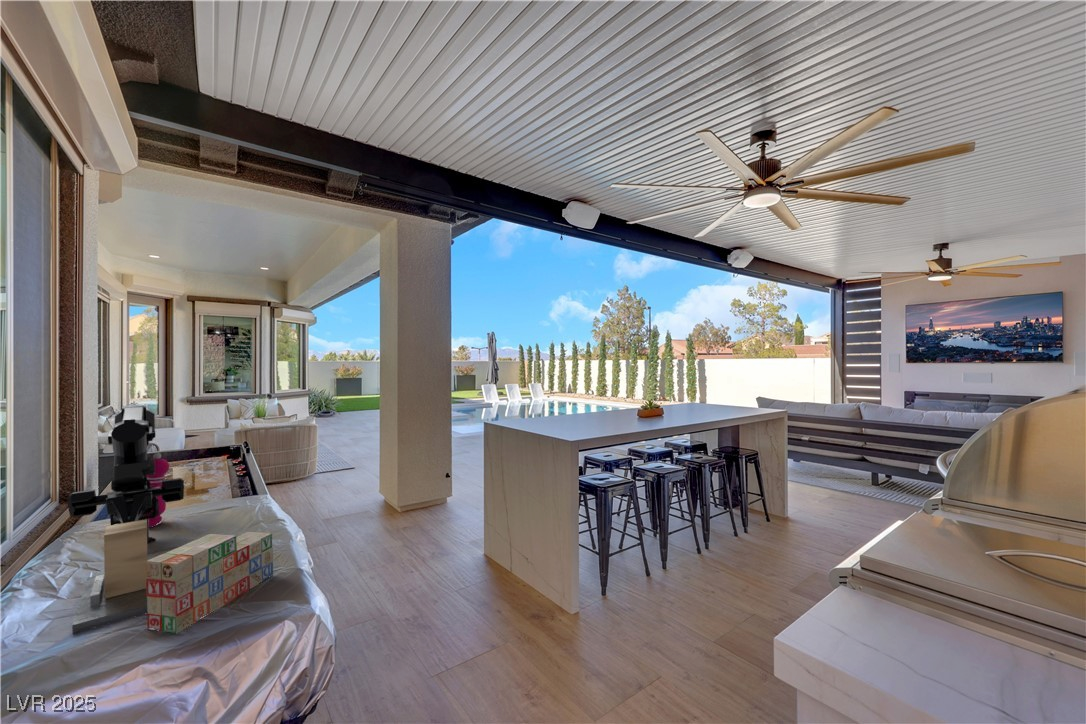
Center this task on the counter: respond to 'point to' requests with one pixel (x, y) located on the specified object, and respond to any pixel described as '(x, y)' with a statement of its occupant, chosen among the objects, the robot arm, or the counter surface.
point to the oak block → (125, 558)
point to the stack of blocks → (204, 577)
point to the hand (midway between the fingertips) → (128, 531)
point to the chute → (106, 605)
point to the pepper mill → (158, 484)
